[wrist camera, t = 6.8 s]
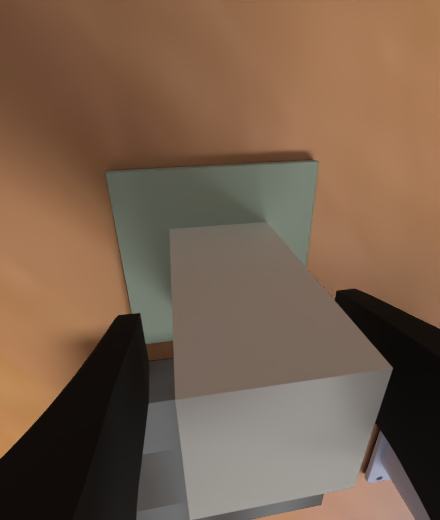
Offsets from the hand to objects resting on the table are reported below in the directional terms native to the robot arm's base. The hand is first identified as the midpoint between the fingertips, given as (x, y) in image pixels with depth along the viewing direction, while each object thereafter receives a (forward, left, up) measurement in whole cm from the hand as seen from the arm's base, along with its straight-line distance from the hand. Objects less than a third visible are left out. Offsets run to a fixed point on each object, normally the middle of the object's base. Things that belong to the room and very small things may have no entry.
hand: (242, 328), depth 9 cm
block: (0, 0, -4) cm, 4 cm away
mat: (0, 0, -5) cm, 5 cm away
